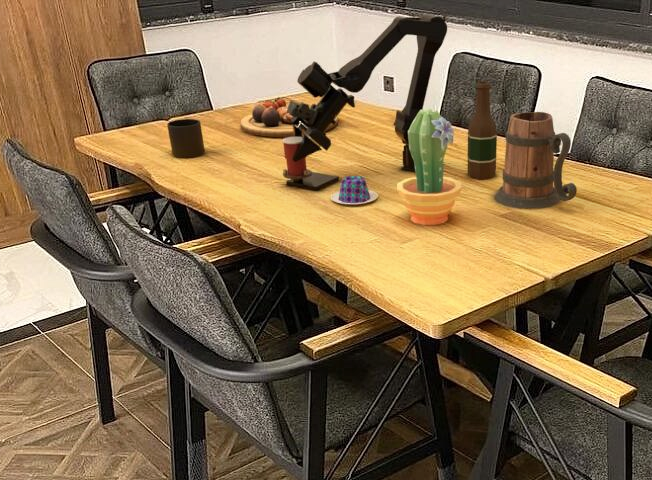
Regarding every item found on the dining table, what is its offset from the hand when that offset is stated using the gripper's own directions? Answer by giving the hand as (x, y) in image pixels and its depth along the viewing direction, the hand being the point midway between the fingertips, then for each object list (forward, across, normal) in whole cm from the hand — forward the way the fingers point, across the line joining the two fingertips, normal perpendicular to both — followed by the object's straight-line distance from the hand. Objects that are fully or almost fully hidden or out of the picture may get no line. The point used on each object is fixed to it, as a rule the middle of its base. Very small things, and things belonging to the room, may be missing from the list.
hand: (290, 157), depth 218 cm
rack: (+2, 0, +9) cm, 9 cm away
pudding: (-2, +18, +13) cm, 22 cm away
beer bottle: (-29, +14, +40) cm, 51 cm away
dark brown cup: (+20, -45, -9) cm, 50 cm away
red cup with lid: (+2, 0, +4) cm, 4 cm away
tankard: (-32, +38, +42) cm, 65 cm away
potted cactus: (-11, +39, +22) cm, 46 cm away
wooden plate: (-6, -62, +17) cm, 65 cm away
